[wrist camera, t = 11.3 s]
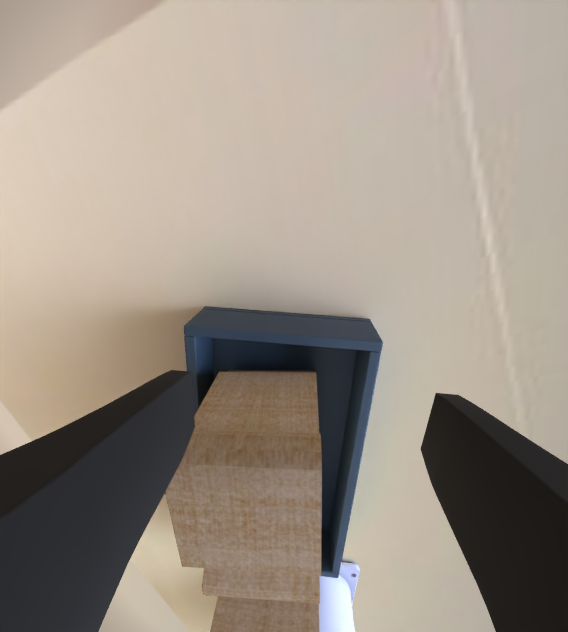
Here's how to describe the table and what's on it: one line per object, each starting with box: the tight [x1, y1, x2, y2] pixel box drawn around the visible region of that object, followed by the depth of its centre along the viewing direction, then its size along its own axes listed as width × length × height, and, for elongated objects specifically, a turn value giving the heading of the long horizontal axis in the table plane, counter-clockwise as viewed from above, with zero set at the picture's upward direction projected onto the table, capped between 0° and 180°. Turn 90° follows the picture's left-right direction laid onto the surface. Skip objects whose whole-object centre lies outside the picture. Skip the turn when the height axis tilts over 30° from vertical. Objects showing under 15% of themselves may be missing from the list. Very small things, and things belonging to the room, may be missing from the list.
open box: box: [184, 307, 383, 578], centre depth 20 cm, size 20×11×4 cm, turn 177°
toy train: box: [165, 370, 322, 632], centre depth 17 cm, size 6×17×10 cm, turn 2°
